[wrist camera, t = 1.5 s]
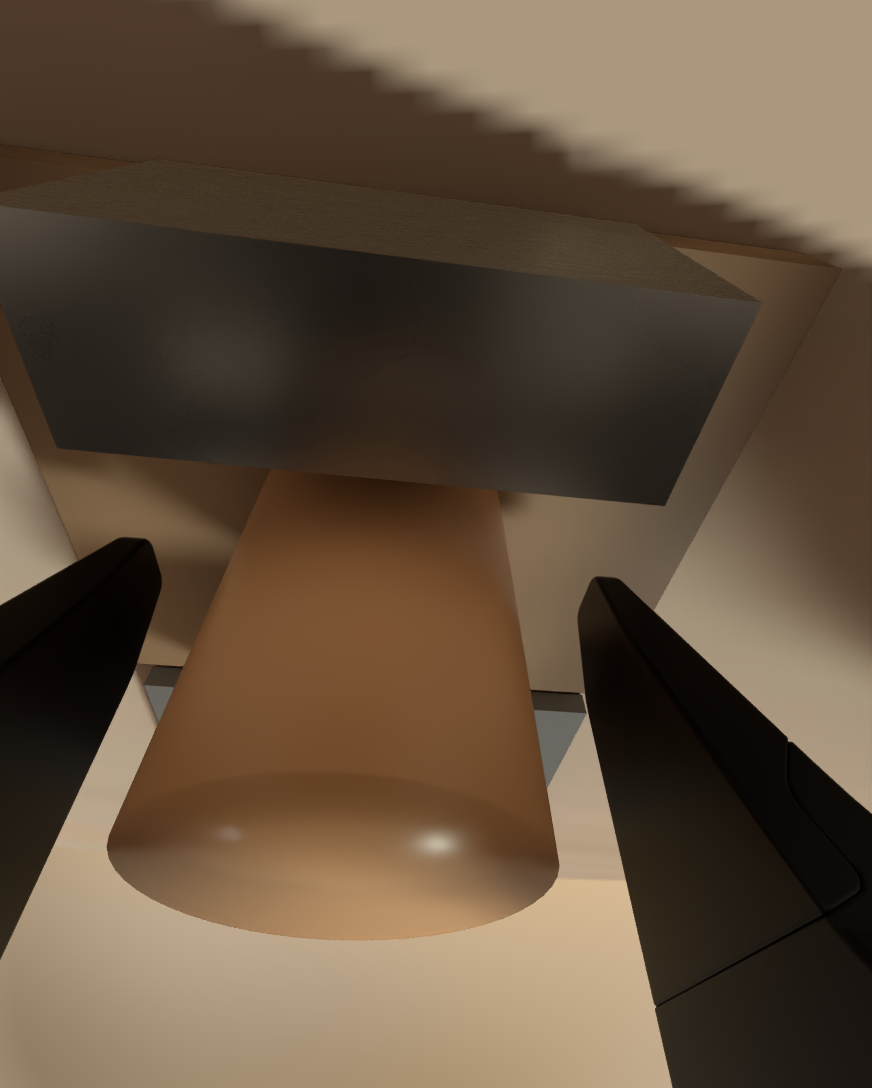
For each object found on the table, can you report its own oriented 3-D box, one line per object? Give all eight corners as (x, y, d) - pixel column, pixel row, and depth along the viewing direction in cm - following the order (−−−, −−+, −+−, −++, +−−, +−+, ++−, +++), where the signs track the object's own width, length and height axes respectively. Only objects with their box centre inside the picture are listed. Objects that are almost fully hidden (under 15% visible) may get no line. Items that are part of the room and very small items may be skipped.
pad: (582, 695, 15) (586, 713, 15) (516, 826, 21) (518, 842, 21) (152, 666, 14) (143, 685, 14) (206, 811, 20) (201, 828, 20)
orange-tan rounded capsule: (523, 426, 9) (624, 787, 4) (479, 608, 12) (509, 944, 7) (251, 397, 8) (32, 755, 4) (273, 592, 11) (162, 935, 7)
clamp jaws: (635, 223, 7) (761, 302, 4) (490, 691, 14) (504, 838, 11) (158, 158, 6) (-40, 200, 4) (250, 675, 13) (203, 824, 10)
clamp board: (802, 253, 8) (841, 269, 7) (597, 662, 14) (607, 694, 14) (-40, 139, 7) (-99, 143, 6) (139, 630, 13) (122, 662, 13)
